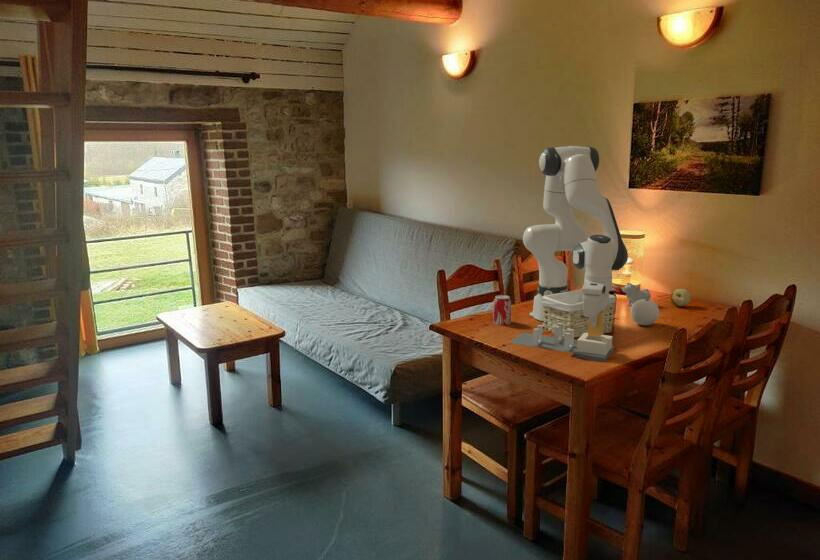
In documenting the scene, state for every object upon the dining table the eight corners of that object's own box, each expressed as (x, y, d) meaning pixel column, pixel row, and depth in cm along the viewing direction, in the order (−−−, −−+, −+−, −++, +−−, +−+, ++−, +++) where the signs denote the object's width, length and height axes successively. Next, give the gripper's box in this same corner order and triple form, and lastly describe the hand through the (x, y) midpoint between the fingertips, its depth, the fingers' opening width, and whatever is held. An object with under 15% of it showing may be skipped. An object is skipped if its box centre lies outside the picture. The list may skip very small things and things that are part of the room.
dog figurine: (618, 305, 267) (619, 281, 265) (646, 304, 269) (647, 280, 266) (623, 308, 262) (625, 284, 260) (651, 307, 263) (653, 283, 261)
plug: (581, 330, 209) (582, 308, 207) (602, 333, 205) (604, 310, 203) (578, 333, 205) (578, 311, 204) (600, 336, 202) (601, 313, 200)
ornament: (660, 329, 232) (662, 298, 229) (632, 327, 234) (634, 298, 231) (655, 321, 242) (657, 292, 239) (628, 320, 244) (630, 291, 241)
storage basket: (568, 344, 216) (570, 304, 213) (538, 332, 230) (539, 295, 227) (616, 333, 228) (618, 295, 224) (584, 323, 242) (586, 287, 238)
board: (522, 336, 226) (523, 317, 224) (613, 349, 209) (614, 328, 208) (509, 347, 214) (509, 326, 212) (604, 362, 198) (605, 340, 196)
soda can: (501, 329, 234) (502, 299, 232) (489, 325, 240) (489, 296, 237) (514, 326, 238) (515, 296, 236) (501, 322, 244) (502, 293, 241)
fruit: (666, 305, 265) (667, 288, 264) (679, 303, 269) (681, 286, 267) (680, 309, 259) (681, 291, 257) (694, 307, 262) (695, 289, 260)
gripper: (595, 277, 211) (593, 315, 214) (580, 289, 194) (578, 330, 197) (614, 279, 208) (612, 318, 211) (600, 291, 191) (598, 333, 194)
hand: (595, 324), depth 204 cm, fingers closed on plug, 4 cm apart
